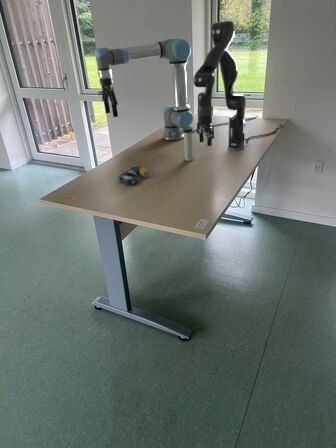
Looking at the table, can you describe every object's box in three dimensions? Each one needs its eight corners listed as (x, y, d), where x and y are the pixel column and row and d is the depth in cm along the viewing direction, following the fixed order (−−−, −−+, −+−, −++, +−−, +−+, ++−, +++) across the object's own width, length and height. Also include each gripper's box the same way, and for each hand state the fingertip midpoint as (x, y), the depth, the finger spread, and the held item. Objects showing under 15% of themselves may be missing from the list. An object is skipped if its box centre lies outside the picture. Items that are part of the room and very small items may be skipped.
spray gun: (155, 171, 194) (133, 169, 200) (154, 165, 192) (132, 163, 198) (137, 187, 179) (114, 184, 185) (136, 180, 176) (112, 177, 183)
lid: (180, 132, 199) (180, 129, 198) (185, 129, 203) (185, 126, 202) (189, 133, 196) (189, 130, 195) (194, 130, 200) (194, 127, 199)
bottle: (183, 160, 208) (182, 129, 198) (187, 157, 211) (186, 127, 201) (190, 161, 205) (189, 130, 196) (194, 158, 209) (193, 128, 199)
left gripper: (93, 76, 203) (99, 112, 214) (107, 80, 184) (113, 119, 195) (104, 75, 206) (110, 110, 217) (119, 78, 187) (125, 117, 198)
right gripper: (218, 115, 171) (218, 145, 179) (204, 110, 182) (204, 139, 191) (205, 117, 168) (206, 148, 177) (192, 112, 180) (193, 141, 188)
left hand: (111, 114), depth 206 cm, fingers open, 13 cm apart
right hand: (205, 143), depth 184 cm, fingers open, 8 cm apart
